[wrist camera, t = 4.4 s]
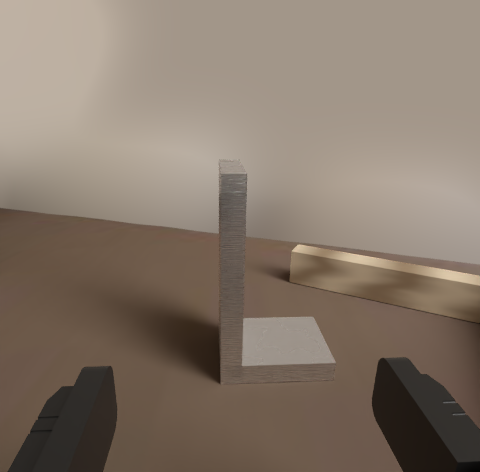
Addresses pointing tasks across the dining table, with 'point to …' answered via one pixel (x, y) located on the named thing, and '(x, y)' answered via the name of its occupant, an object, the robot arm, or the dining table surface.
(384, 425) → the robot arm
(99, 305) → the dining table surface
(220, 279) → the bracket
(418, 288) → the wooden l-shaped corner
